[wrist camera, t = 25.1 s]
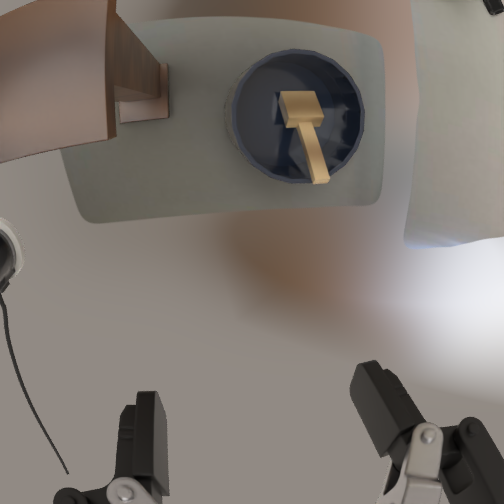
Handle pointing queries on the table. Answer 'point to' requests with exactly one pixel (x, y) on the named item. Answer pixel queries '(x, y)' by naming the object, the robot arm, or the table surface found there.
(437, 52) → the table surface
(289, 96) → the t-shaped wooden block
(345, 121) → the pot
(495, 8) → the phone
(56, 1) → the stand
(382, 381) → the robot arm
